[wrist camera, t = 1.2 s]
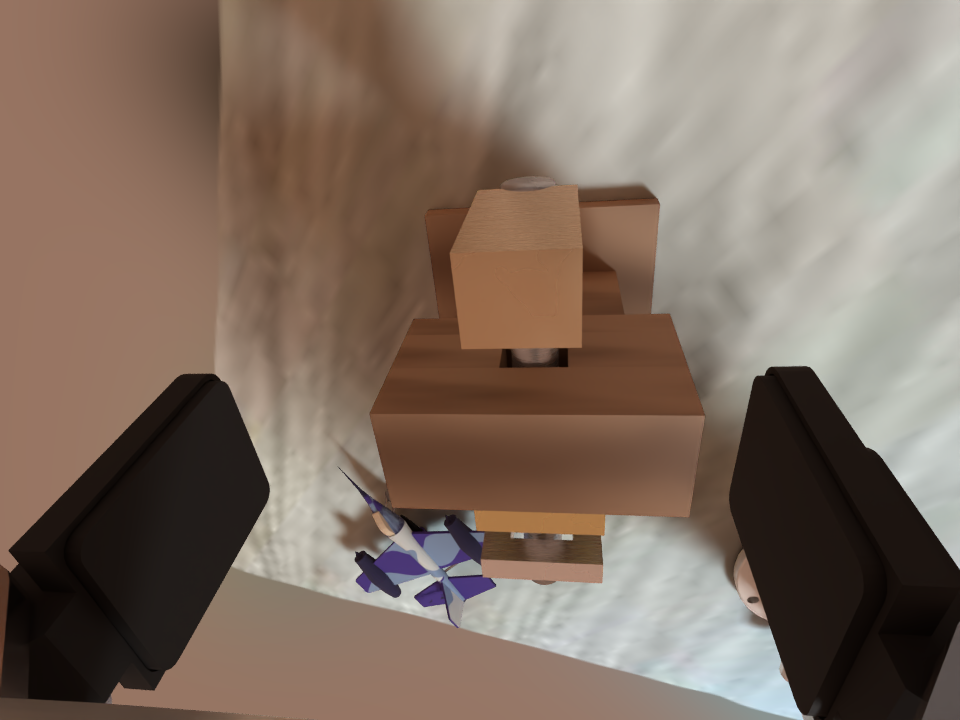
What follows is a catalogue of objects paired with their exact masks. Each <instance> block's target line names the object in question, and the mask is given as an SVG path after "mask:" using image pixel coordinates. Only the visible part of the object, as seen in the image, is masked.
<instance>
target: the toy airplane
mask: <svg viewBox="0 0 960 720" xmlns="http://www.w3.org/2000/svg"><path fill="white" fill-rule="evenodd" d="M339 469H340V468H339ZM340 470H341V469H340ZM341 471H342V470H341ZM342 472H343V471H342ZM343 473H344V472H343ZM344 474H345V473H344ZM345 475H346V474H345ZM346 477H347V478H348V479H349V480H350V481H351V482H352V483H353V485H354V486H355V487H356V488H357V489H358V490H359V492H360V493H361V495H362V496H363V498H364V499H365V500H366V502H367V503H368V505H369V506H370V508H371V510H372V512H373V514H372V516H373V518H374V520H375V522H376V524H377V526H378V527H379V529H380V530H381V531H382V532H383V533H384V534H385V535H386V536H387V537H389V538H390V539H391V540H392V541H394V542H393V543H392V544H391V545H390V546H389V547H388V548H387V549H386V550H385V551H384V552H383V553H382V554H381V555H380V556H379V557H378V558H377V559H374V558H373V557H371V556H370V555H369V554H367V553H366V552H365V551H361V552H359V553H358V552H355V553H356V557H355V562H356V563H357V564H358V565H359V567H360V568H361V569H362V571H363V573H362V574H361V575H360V576H359V577H358V578H357V579H356V582H357V583H358V584H359V585H360V586H361V587H362V588H363V589H364V590H365V591H366V592H368V593H371V592H374V591H377V590H382V591H384V592H385V593H387V594H389V595H390V596H392V597H394V598H397V597H399V596H400V594H401V589H400V588H399V586H398V584H400V583H403V582H407V581H410V580H413V579H416V578H419V577H423V576H426V575H429V574H431V575H432V576H433V577H434V578H435V579H436V580H437V581H436V582H434V583H433V584H431V585H430V586H428V587H427V588H426V589H424V590H423V591H421V592H420V593H418V594H417V595H415V596H414V598H415V599H416V600H417V601H418V602H419V603H420V604H421V605H422V606H423V607H428V606H434V605H441V604H445V605H446V609H447V614H448V618H449V620H450V621H451V622H452V623H453V624H454V625H455V626H456V627H457V628H459V627H460V623H461V617H462V611H463V605H464V602H465V601H466V599H469V598H471V597H473V596H475V595H478V594H480V593H482V592H485V591H487V590H489V589H492V588H494V587H496V584H495V583H494V582H493V581H492V579H491V578H487V577H483V575H470V576H454V577H449V576H448V575H447V574H446V572H447V571H448V570H450V569H451V568H452V567H454V566H455V565H457V564H458V563H461V562H464V561H467V560H470V559H473V560H474V561H476V562H477V563H479V564H480V565H481V554H482V547H483V540H484V533H485V531H472V530H471V529H470V528H469V527H468V526H466V525H465V524H464V523H463V522H462V521H460V520H459V519H458V518H457V517H456V516H455V515H450V516H447V515H445V517H446V520H445V522H444V525H445V526H446V528H447V529H448V531H428V532H427V531H426V530H425V529H424V528H423V527H418V526H417V525H416V524H414V523H413V522H412V521H411V520H409V519H408V518H406V517H405V516H403V515H400V516H401V517H400V516H399V515H397V514H396V513H395V508H393V511H391V510H390V509H388V508H387V501H390V502H391V500H390V496H389V492H388V489H387V491H386V502H385V506H383V505H382V504H381V503H379V502H377V501H376V500H374V499H373V498H372V497H370V496H369V495H368V494H367V493H365V492H364V491H363V490H361V489H360V488H359V487H358V486H357V485H356V484H355V483H354V482H353V481H352V480H351V479H350V478H349V477H348V476H347V475H346ZM448 566H450V567H449V568H447V569H446V570H443V569H442V568H445V567H448Z"/></svg>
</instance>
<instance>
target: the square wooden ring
mask: <svg viewBox="0 0 960 720" xmlns="http://www.w3.org/2000/svg"><path fill="white" fill-rule="evenodd" d="M481 566H482V573H483V577H487V578H508V579H528V580H548V581H568V582H588V583H602V577H603V558H602V544H601V535H576V534H573V540H547V539H521V538H514V532H494V531H485V533H484V540H483V547H482V554H481Z"/></svg>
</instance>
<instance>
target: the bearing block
mask: <svg viewBox="0 0 960 720" xmlns="http://www.w3.org/2000/svg"><path fill="white" fill-rule="evenodd" d="M469 209H470V208H456V209H437V210H428V212H427V213H426V215H425V221H426V228H427V235H428V242H429V249H430V256H431V263H432V270H433V277H434V284H435V291H436V298H437V305H438V312H439V318H438V319H414V320H413V322H412V324H411V326H410V328H409V330H408V332H407V335H406V337H405V339H404V341H403V343H402V345H401V347H400V350H399V352H398V354H397V356H396V358H395V360H394V362H393V365H392V367H391V369H390V371H389V373H388V375H387V377H386V380H385V382H384V384H383V386H382V388H381V390H380V392H379V394H378V397H377V399H376V401H375V403H374V405H373V407H372V409H371V412H370V418H371V422H372V426H373V431H374V435H375V439H376V443H377V447H378V451H379V455H380V459H381V463H382V467H383V472H384V476H385V480H386V484H387V488H388V492H389V496H390V500H391V504H392V508H417V509H448V510H479V511H510V512H542V513H573V514H604V515H635V516H667V517H689V515H690V508H691V502H692V496H693V489H694V483H695V477H696V470H697V464H698V458H699V451H700V445H701V439H702V432H703V426H704V420H705V414H704V411H703V408H702V405H701V402H700V400H699V397H698V394H697V391H696V388H695V385H694V382H693V379H692V376H691V374H690V371H689V368H688V365H687V362H686V359H685V356H684V353H683V350H682V348H681V345H680V342H679V339H678V336H677V333H676V330H675V327H674V325H673V322H672V319H671V316H670V314H651V306H652V294H653V282H654V269H655V257H656V245H657V233H658V221H659V209H660V203H659V201H658V199H657V198H652V199H633V200H613V201H594V202H579V210H580V222H581V234H582V245H583V273H582V348H558V352H559V367H535V368H512V353H511V349H461V341H460V332H459V324H458V316H457V308H456V300H455V292H454V284H453V276H452V268H451V260H450V251H451V249H452V247H453V245H454V242H455V240H456V238H457V236H458V234H459V231H460V229H461V227H462V225H463V222H464V220H465V218H466V216H467V213H468V211H469Z"/></svg>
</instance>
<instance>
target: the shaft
mask: <svg viewBox="0 0 960 720" xmlns="http://www.w3.org/2000/svg"><path fill="white" fill-rule="evenodd" d="M450 260H451V268H452V276H453V284H454V292H455V300H456V308H457V316H458V324H459V332H460V341H461V349H511V353H512V368H535V367H559V352H558V348H582V273H583V245H582V234H581V222H580V210H579V198H578V187H577V185H561V186H556V181H555V180H554V179H552V178H549V177H543V176H527V177H519V178H513V179H510V180H507V181H504V182H503V183H501V184H500V189H490V190H478V191H477V193H476V196H475V198H474V200H473V202H472V204H471V207H470V209H469V211H468V213H467V216H466V218H465V220H464V222H463V225H462V227H461V229H460V231H459V234H458V236H457V238H456V240H455V242H454V245H453V247H452V249H451V251H450ZM524 539H547V540H562V534H549V533H524ZM532 581H534V582H535V583H538V584H541V585H548V584H552V583H554V582H556V581H548V580H532Z"/></svg>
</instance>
